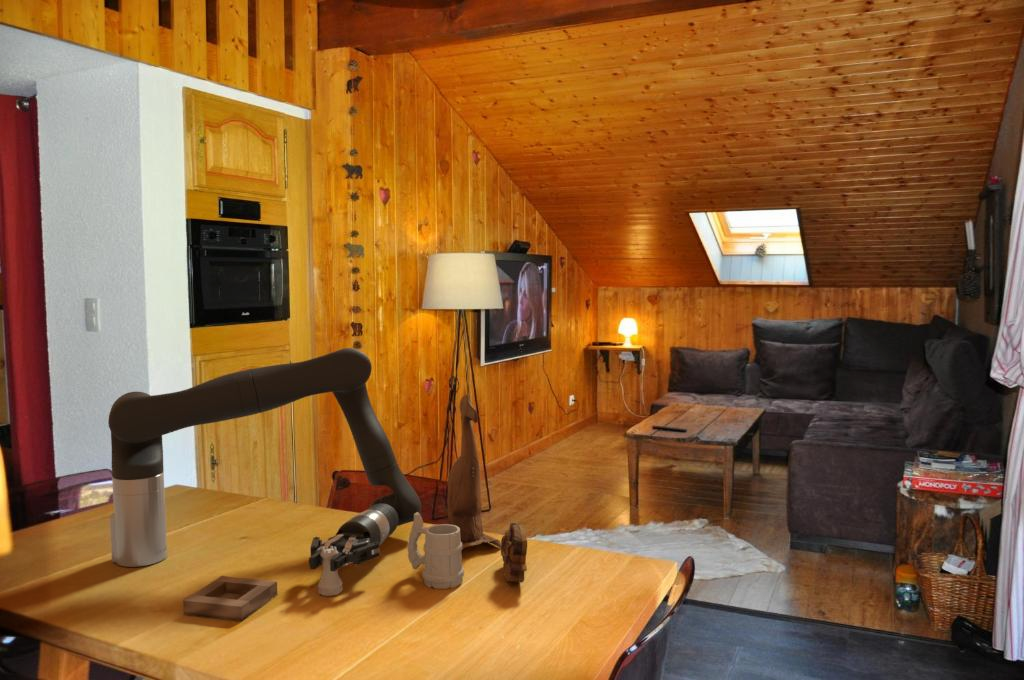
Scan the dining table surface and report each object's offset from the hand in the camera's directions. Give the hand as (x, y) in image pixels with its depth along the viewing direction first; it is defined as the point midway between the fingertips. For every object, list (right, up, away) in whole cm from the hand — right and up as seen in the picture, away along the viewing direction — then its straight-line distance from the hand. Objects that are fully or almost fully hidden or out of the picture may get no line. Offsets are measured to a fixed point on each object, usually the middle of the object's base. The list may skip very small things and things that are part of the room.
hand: (322, 564), depth 142 cm
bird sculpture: (+23, -4, +26) cm, 35 cm away
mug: (+19, -5, +9) cm, 21 cm away
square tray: (-15, -6, -2) cm, 16 cm away
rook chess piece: (+1, -6, +3) cm, 7 cm away
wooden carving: (+33, -5, +9) cm, 35 cm away
